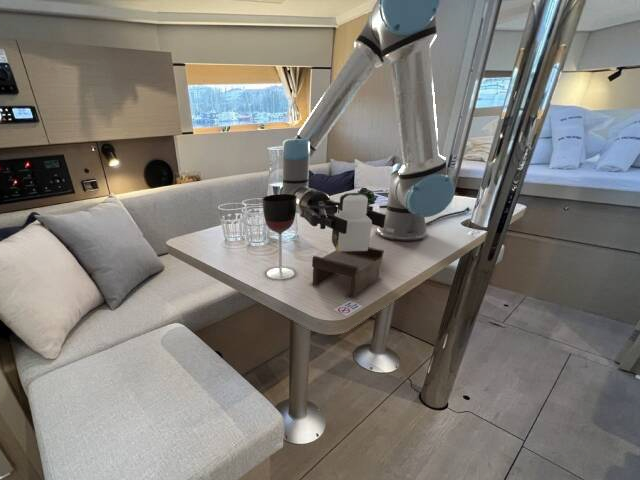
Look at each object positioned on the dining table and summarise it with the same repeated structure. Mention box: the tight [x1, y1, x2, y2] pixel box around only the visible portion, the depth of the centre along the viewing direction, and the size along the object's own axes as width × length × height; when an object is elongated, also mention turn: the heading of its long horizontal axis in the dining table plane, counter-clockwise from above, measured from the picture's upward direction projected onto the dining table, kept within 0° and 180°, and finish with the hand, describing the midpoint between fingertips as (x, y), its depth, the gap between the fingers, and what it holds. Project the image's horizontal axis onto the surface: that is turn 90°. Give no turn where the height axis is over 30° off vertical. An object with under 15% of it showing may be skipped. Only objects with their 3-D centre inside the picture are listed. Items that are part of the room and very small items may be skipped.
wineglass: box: [261, 193, 297, 280], centre depth 81 cm, size 8×9×20 cm
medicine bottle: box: [331, 192, 373, 252], centre depth 72 cm, size 7×7×12 cm
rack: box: [311, 246, 385, 299], centre depth 78 cm, size 14×11×8 cm
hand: (364, 224), depth 68 cm, fingers closed on medicine bottle, 9 cm apart
